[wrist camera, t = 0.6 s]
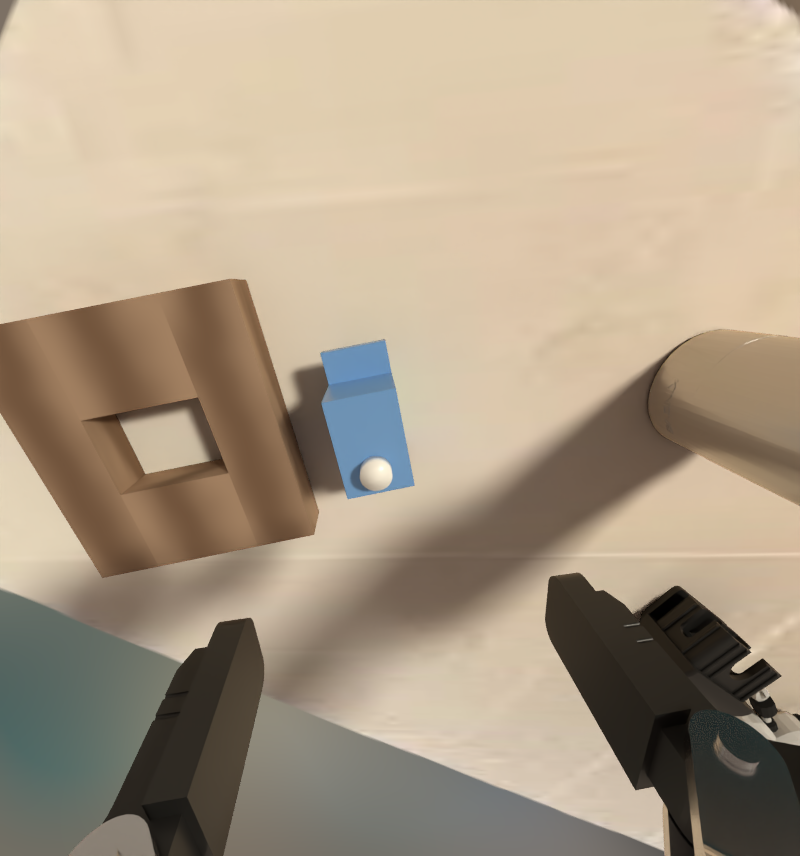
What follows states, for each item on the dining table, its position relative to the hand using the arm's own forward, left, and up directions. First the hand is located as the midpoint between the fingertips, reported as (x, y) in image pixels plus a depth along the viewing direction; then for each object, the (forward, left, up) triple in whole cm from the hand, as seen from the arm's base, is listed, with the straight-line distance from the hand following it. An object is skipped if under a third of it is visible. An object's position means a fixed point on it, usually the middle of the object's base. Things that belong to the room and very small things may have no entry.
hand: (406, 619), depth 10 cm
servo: (+1, 0, -19) cm, 19 cm away
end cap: (-25, +30, -19) cm, 43 cm away
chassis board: (+15, -1, -19) cm, 24 cm away
